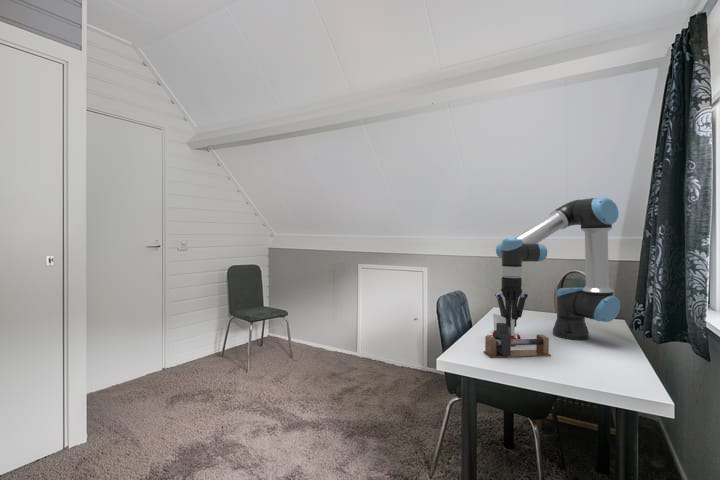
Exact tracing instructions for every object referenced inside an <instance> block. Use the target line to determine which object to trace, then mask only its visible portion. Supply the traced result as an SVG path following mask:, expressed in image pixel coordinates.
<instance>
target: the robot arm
mask: <svg viewBox="0 0 720 480" xmlns="http://www.w3.org/2000/svg"><path fill="white" fill-rule="evenodd" d="M619 216H620V215H619V209H618V206H617V204H616V203H615V202H614V201H613V200H612V199H611V198H608V197H594V198H593V197H592V198H584V199H575V200H572V201H569V202H567V203H565V204H563V205H561V206H559V207H558V208H556V209H555V210H553V211H551V212H550V213H549V216H547V217H545V218H544V219H543V220H541V221H539V222H538V223H536V224H535V225H533V226H531V227H530V228H528V229H526V230H525V231H524V232H522V233H520V234H519V235H517V236H516V237H514V238H504V239H503V240H502V242H499V243H497V246H496V248H495V253H496V256H497V257H498V258H499V259H501V276H502V277H501V289H500V291H499V292H498V293H494V296H495V298H496V299H497V303H498V306H499V307H498V309H499V311H500V313H501V316H502V317H504V318H506V324H507V325H508V334H509V335H511V336H514V337H515V328H516V327H517V321H518V320H519V319H521V318H522V316H523V311H524V307H525V304H526V300H527V298H528V297H529V295H528V294H527V293H525V292H524V291H523V289H522V287H523V286H522V285H523V283H522V280H523V278H522V276H523V271H522V270H523V265H522V264H523V262H532V263H533V262H536V263H538V262H543V261H544V260H546V258H547V257H548V248H547V247H546V245H545V244H543V243H540V242H542V241H543V240H545V239H547V238H549V237H550V236H551V235H553V234H555V233H556V232H558V231H560V230H565V229H566V228H568V227H571V226H580V230H581V231H582V232H583V233H584V251H585V252H584V254H585V255H584V257H585V263H584V265H585V285H584V287H562V288H561V287H560V288H559V289H558V290H557V294H556V320H555V323H554V325H553V327H552V335H553V336H555V337H559V338H562V339H566V340H574V341H575V340H576V341H583V340H588V339H590V333H589V332H590V331H589V329H588V327H587V324H586V319H589V320H594V321H596V322H603V323H604V322H605V323H609V322H611V321H613V320H615V319H616V318H617V316H618V314H619V313H620V309H621V301H620V300H619V298H618V297H616V296H615V295H614V290H613V289H612V288H611V287H610V284H609V283H610V281H609V279H610V278H609V276H610V275H609V273H610V271H609V231H610V230H612V229H613V225H614V224H615V223H616V222H617V221H618V219H619ZM511 317H512V318H511Z"/></svg>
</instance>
